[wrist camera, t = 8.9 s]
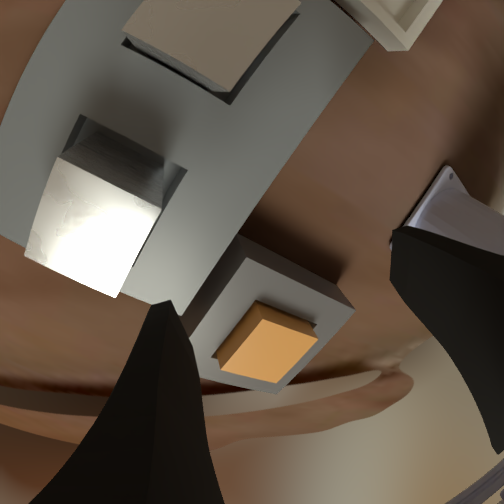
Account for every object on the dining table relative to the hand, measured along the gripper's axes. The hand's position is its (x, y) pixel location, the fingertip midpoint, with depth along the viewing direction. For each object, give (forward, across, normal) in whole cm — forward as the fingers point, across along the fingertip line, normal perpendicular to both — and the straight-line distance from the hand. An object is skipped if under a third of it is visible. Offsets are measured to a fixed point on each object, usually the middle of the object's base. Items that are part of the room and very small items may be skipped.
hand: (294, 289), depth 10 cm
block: (+9, +6, -3) cm, 11 cm away
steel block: (+9, 0, -9) cm, 12 cm away
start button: (+8, +1, +9) cm, 12 cm away
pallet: (+9, +3, -6) cm, 11 cm away
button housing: (+9, +1, +9) cm, 13 cm away
